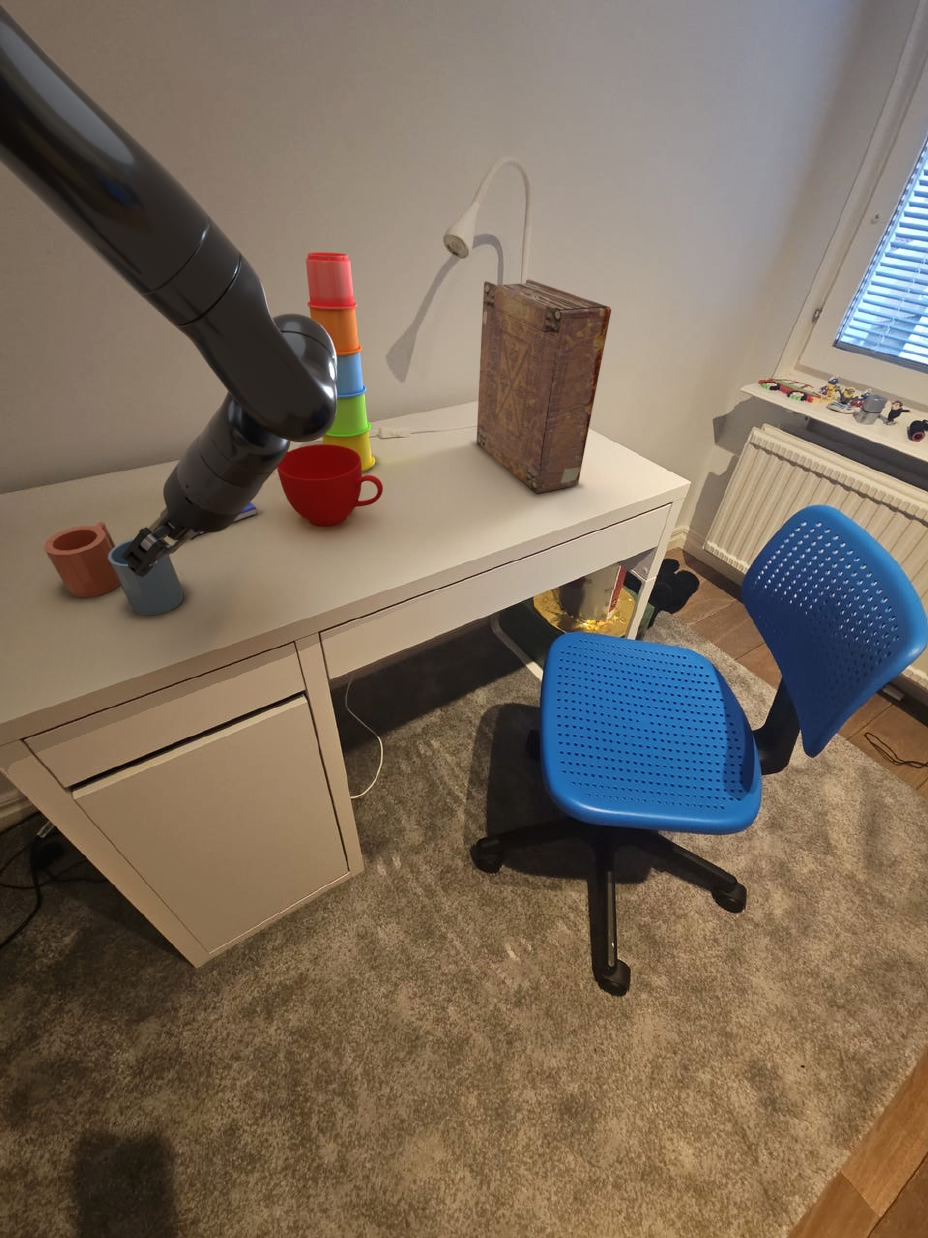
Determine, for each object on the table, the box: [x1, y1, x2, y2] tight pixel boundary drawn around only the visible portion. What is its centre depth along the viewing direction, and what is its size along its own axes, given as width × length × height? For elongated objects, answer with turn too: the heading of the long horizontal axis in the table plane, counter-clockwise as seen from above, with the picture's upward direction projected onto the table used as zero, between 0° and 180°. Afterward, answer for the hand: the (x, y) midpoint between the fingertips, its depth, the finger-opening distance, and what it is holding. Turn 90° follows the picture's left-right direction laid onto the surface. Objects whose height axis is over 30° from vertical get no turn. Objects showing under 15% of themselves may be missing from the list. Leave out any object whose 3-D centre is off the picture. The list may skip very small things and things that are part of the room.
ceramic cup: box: [276, 443, 384, 528], centre depth 87 cm, size 13×17×10 cm
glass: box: [108, 538, 185, 617], centre depth 70 cm, size 6×6×8 cm
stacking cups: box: [305, 251, 376, 473], centre depth 95 cm, size 10×10×35 cm
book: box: [476, 278, 612, 495], centre depth 99 cm, size 25×9×30 cm, turn 25°
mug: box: [43, 521, 121, 598], centre depth 74 cm, size 10×7×7 cm
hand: (162, 550), depth 66 cm, fingers open, 8 cm apart
